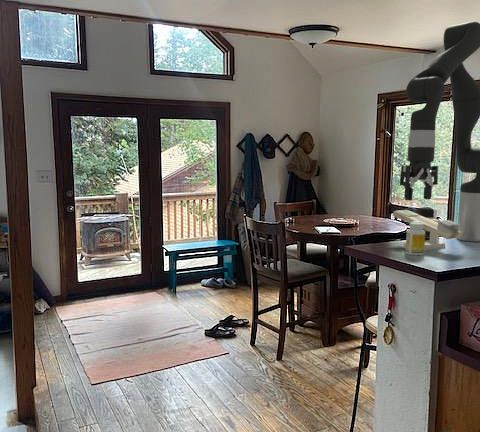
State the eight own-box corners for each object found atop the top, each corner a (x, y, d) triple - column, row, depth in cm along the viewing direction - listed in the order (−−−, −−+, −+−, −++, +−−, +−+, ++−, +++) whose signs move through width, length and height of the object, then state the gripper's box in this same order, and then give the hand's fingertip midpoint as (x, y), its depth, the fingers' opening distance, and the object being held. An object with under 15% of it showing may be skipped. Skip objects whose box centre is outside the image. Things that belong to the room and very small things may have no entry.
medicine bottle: (417, 242, 169) (419, 208, 167) (413, 238, 176) (415, 206, 174) (438, 243, 168) (441, 208, 166) (433, 239, 175) (435, 206, 173)
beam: (406, 214, 169) (409, 203, 168) (461, 237, 151) (464, 225, 150) (392, 215, 165) (394, 204, 164) (446, 239, 148) (449, 226, 146)
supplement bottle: (401, 253, 150) (403, 222, 148) (411, 251, 153) (413, 221, 152) (417, 256, 146) (419, 225, 144) (427, 254, 149) (429, 223, 148)
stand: (429, 244, 165) (431, 218, 164) (444, 247, 160) (446, 220, 159) (403, 247, 158) (405, 220, 157) (418, 251, 153) (420, 223, 152)
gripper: (426, 146, 152) (422, 197, 154) (395, 145, 144) (391, 199, 147) (447, 146, 145) (443, 200, 148) (415, 145, 138) (412, 201, 140)
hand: (417, 199), depth 147 cm, fingers open, 8 cm apart
